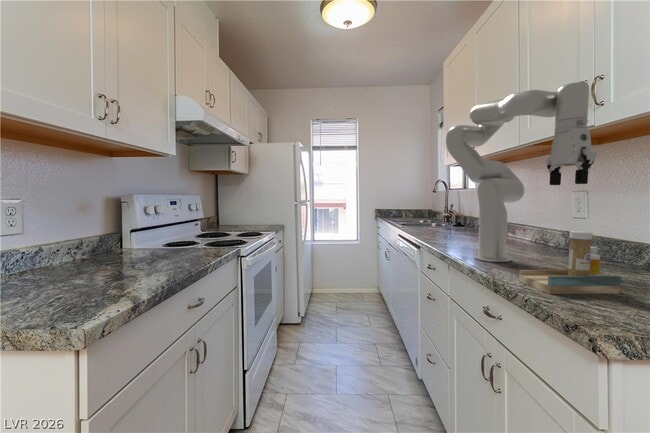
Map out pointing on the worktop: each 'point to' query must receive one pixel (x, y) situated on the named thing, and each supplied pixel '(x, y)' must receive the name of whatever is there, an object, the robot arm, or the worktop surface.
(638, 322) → the worktop surface
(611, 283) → the shelf board
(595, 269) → the supplement bottle
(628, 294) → the worktop surface
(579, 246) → the sprinkles bottle
